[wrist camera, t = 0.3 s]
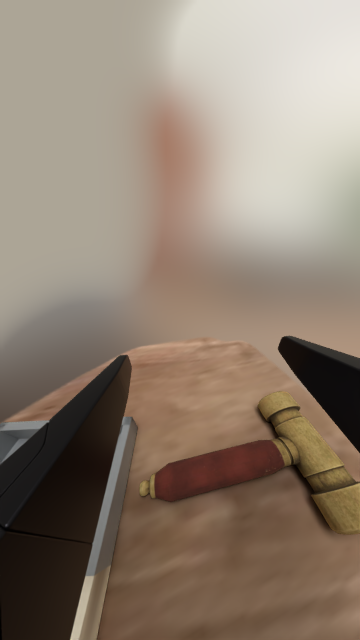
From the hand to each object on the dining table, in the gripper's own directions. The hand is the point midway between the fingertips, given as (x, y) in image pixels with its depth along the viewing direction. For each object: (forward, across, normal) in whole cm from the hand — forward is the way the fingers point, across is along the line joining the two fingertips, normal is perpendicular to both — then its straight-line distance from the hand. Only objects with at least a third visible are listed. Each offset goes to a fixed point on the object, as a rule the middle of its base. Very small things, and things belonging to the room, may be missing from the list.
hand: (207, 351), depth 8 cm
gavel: (-1, -4, +17) cm, 18 cm away
